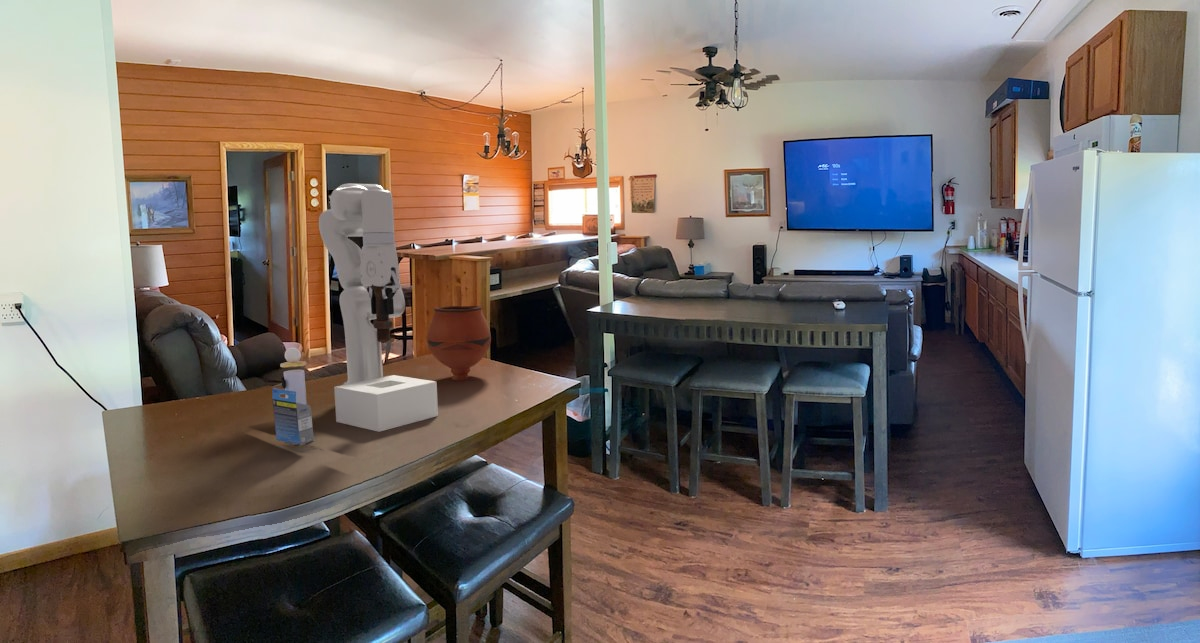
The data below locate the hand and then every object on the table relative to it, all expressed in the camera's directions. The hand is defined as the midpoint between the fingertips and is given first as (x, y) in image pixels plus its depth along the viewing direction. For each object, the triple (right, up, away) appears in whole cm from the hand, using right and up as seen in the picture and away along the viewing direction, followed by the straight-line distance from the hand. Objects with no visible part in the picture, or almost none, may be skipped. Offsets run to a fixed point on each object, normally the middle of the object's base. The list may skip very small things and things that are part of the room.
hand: (382, 313), depth 173 cm
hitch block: (0, -27, +3) cm, 27 cm away
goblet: (+11, -23, +42) cm, 49 cm away
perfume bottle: (-19, -28, -5) cm, 35 cm away
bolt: (0, -7, +1) cm, 7 cm away
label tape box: (-15, -29, -16) cm, 37 cm away
